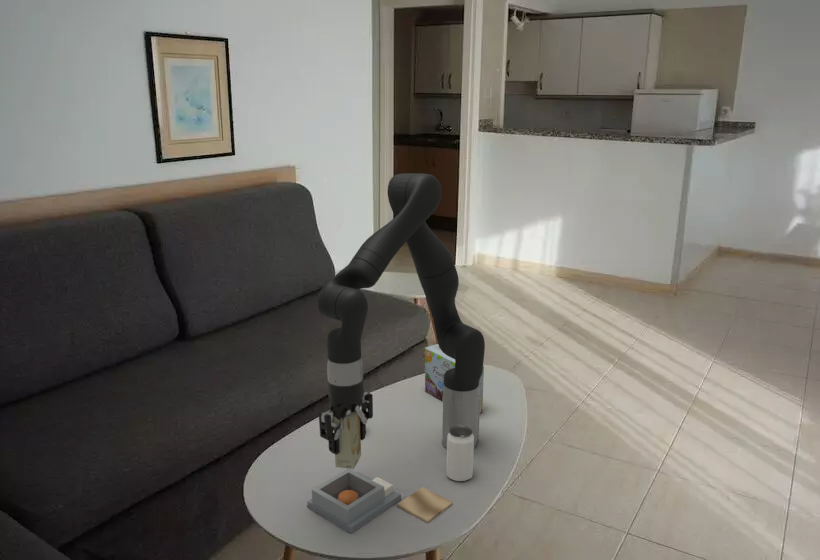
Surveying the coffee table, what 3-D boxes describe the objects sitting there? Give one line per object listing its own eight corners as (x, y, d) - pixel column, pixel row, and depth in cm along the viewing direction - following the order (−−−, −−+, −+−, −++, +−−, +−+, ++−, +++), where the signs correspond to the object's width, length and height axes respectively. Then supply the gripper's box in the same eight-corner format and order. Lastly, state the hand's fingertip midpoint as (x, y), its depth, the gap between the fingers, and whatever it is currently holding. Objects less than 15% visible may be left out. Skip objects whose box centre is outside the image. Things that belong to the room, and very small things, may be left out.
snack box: (423, 392, 207) (423, 347, 203) (437, 387, 210) (437, 342, 206) (469, 418, 191) (471, 370, 187) (483, 412, 194) (485, 365, 190)
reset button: (348, 498, 153) (348, 487, 152) (362, 505, 150) (362, 495, 150) (334, 507, 150) (334, 496, 149) (348, 515, 147) (348, 504, 146)
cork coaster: (422, 489, 157) (422, 486, 157) (453, 504, 152) (453, 502, 151) (397, 506, 151) (397, 504, 151) (427, 523, 145) (427, 520, 145)
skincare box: (354, 470, 144) (352, 419, 140) (334, 468, 144) (332, 417, 141) (362, 454, 150) (360, 405, 146) (343, 452, 150) (341, 403, 147)
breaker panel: (358, 477, 162) (357, 458, 160) (401, 499, 153) (401, 480, 152) (307, 507, 150) (306, 487, 149) (351, 533, 142) (350, 513, 140)
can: (455, 485, 159) (456, 440, 155) (441, 471, 164) (442, 428, 161) (477, 478, 162) (479, 434, 158) (463, 465, 167) (465, 422, 164)
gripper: (332, 393, 134) (335, 465, 138) (381, 370, 144) (382, 438, 149) (307, 383, 138) (311, 453, 143) (356, 361, 149) (359, 427, 153)
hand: (348, 445), depth 146 cm, fingers closed on skincare box, 7 cm apart
